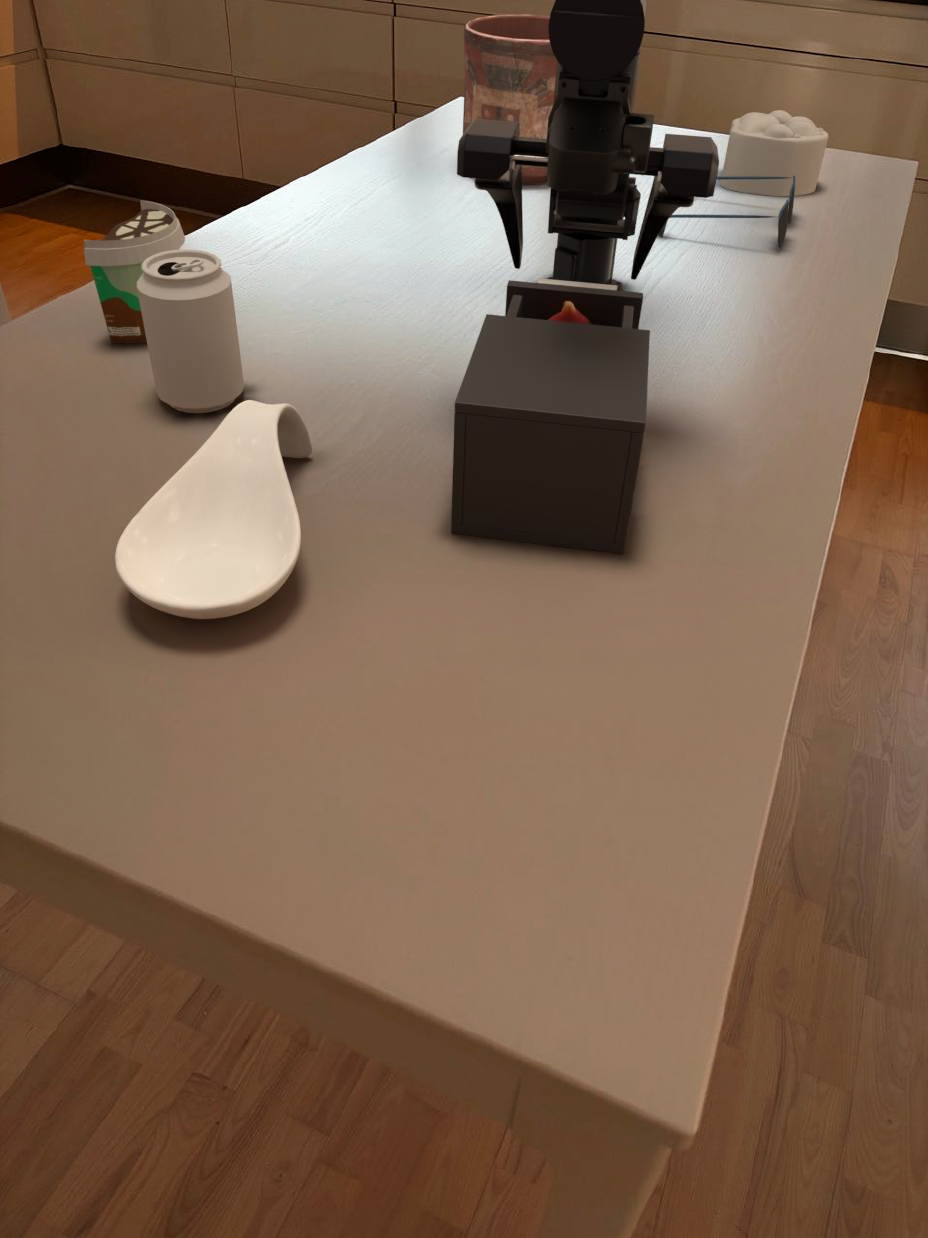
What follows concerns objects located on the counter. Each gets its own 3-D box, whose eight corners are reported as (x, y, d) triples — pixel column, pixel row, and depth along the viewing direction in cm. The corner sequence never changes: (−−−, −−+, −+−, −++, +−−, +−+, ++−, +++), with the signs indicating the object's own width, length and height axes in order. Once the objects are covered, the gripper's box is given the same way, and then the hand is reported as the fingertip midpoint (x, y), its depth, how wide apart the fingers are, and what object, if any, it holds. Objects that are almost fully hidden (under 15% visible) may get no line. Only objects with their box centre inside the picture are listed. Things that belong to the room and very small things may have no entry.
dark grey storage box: (480, 434, 83) (486, 313, 76) (630, 451, 82) (650, 329, 75) (450, 533, 72) (454, 401, 65) (623, 554, 71) (646, 422, 64)
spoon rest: (281, 655, 62) (270, 563, 57) (97, 638, 62) (72, 546, 58) (353, 459, 80) (349, 377, 75) (210, 447, 80) (197, 365, 76)
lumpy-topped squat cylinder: (723, 168, 144) (735, 103, 139) (814, 178, 142) (831, 112, 137) (718, 189, 137) (731, 121, 131) (815, 200, 134) (833, 131, 129)
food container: (165, 356, 92) (146, 249, 86) (103, 348, 93) (80, 241, 87) (216, 305, 102) (202, 204, 95) (160, 298, 103) (143, 198, 96)
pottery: (589, 194, 133) (606, 42, 121) (458, 189, 133) (463, 36, 121) (579, 156, 147) (593, 16, 135) (460, 152, 146) (465, 11, 135)
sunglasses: (779, 255, 118) (784, 212, 115) (656, 253, 123) (658, 211, 120) (794, 212, 130) (799, 171, 127) (682, 211, 135) (684, 172, 132)
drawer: (508, 354, 93) (514, 261, 87) (630, 367, 92) (644, 273, 86) (480, 450, 80) (485, 347, 74) (622, 466, 78) (639, 363, 73)
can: (164, 377, 89) (140, 243, 82) (248, 376, 90) (233, 243, 82) (151, 418, 84) (124, 278, 76) (241, 417, 84) (224, 278, 76)
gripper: (446, 63, 63) (441, 300, 73) (742, 85, 61) (695, 325, 72) (472, 31, 72) (465, 248, 82) (733, 49, 70) (693, 269, 80)
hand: (575, 272), depth 79 cm, fingers open, 9 cm apart
